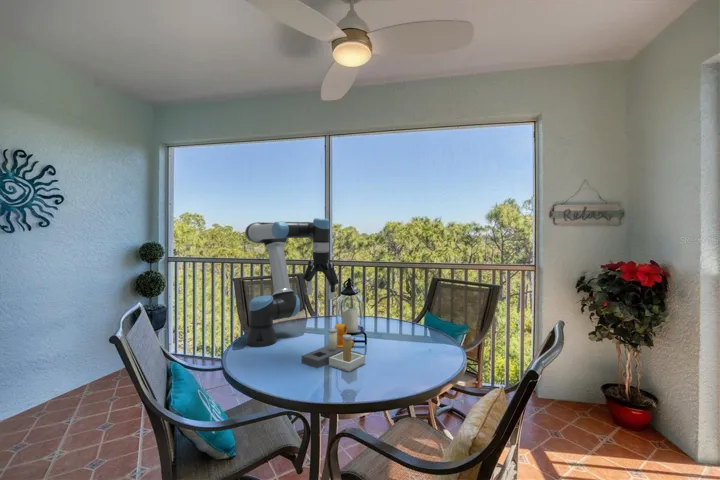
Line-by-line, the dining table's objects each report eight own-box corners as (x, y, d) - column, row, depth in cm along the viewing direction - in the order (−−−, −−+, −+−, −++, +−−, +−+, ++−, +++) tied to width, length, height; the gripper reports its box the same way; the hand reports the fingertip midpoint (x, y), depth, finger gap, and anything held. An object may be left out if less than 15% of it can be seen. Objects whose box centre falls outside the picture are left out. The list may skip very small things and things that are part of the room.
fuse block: (318, 367, 146) (318, 339, 145) (301, 362, 152) (301, 335, 151) (345, 355, 160) (345, 329, 160) (329, 351, 166) (329, 326, 166)
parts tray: (329, 365, 148) (329, 357, 148) (345, 358, 157) (345, 350, 157) (349, 371, 142) (349, 363, 142) (364, 363, 150) (364, 355, 150)
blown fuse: (341, 363, 149) (341, 335, 149) (346, 361, 152) (346, 333, 151) (347, 365, 147) (347, 337, 146) (352, 363, 150) (353, 335, 149)
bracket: (345, 353, 164) (345, 328, 163) (331, 351, 166) (331, 326, 166) (354, 346, 174) (354, 322, 174) (340, 344, 176) (340, 321, 176)
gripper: (296, 250, 165) (295, 294, 166) (336, 254, 150) (335, 302, 151) (307, 249, 171) (306, 292, 172) (347, 253, 156) (346, 299, 157)
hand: (320, 297), depth 162 cm, fingers open, 13 cm apart
